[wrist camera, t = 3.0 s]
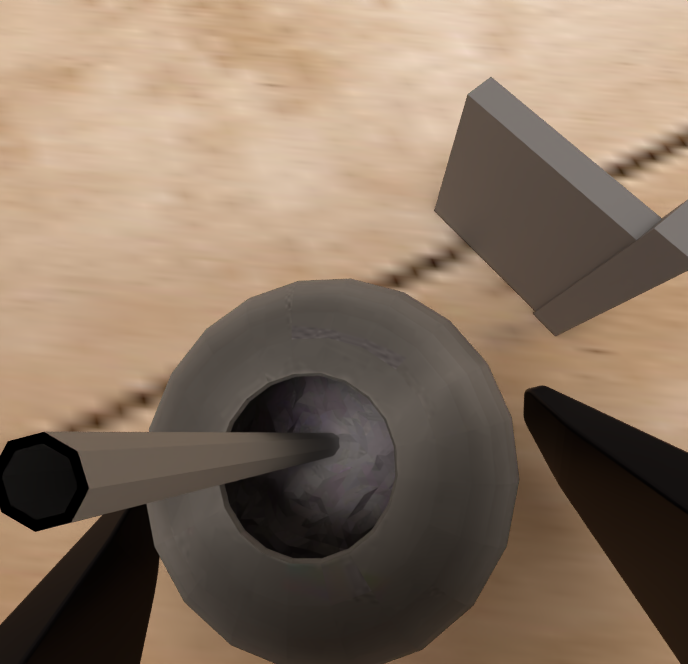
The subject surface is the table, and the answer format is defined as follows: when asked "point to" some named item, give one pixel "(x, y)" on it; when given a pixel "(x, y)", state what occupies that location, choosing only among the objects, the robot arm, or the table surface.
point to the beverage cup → (306, 474)
